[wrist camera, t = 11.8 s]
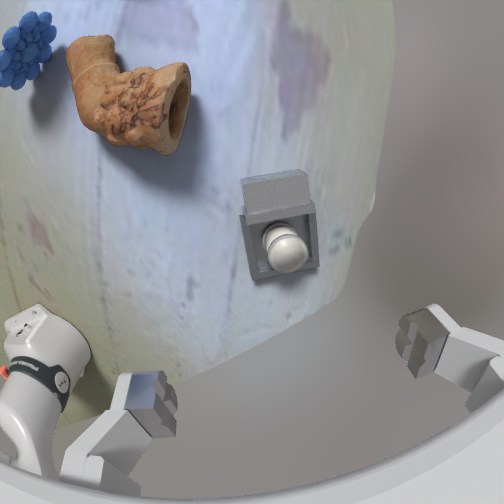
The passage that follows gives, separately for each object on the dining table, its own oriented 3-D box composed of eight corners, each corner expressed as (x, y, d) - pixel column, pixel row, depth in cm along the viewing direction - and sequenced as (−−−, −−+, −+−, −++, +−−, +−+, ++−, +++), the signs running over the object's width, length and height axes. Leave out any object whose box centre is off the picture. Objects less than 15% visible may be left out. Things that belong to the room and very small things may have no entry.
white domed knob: (259, 225, 39) (265, 240, 34) (294, 218, 39) (306, 232, 34) (264, 257, 41) (271, 276, 36) (298, 251, 41) (309, 268, 36)
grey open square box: (250, 272, 43) (253, 287, 39) (232, 180, 37) (234, 186, 33) (314, 258, 43) (323, 272, 39) (305, 168, 37) (316, 173, 33)
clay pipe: (128, 166, 37) (222, 136, 33) (81, 190, 28) (189, 152, 24) (97, 55, 29) (186, 9, 25) (45, 55, 20) (144, -14, 16)
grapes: (53, 17, 21) (12, -4, 11) (79, 28, 24) (38, 4, 13) (14, 82, 25) (-35, 79, 14) (37, 96, 27) (-14, 94, 16)
